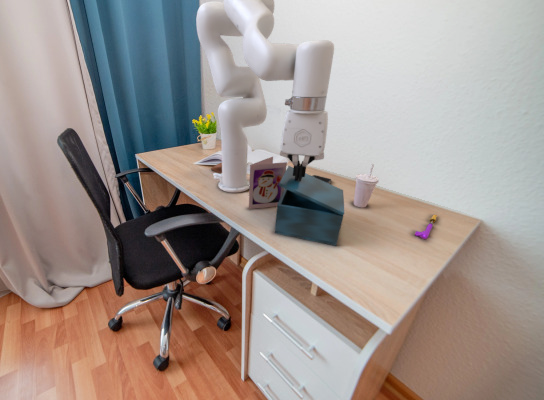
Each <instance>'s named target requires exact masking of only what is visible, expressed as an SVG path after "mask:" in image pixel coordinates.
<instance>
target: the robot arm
mask: <svg viewBox="0 0 544 400" xmlns="http://www.w3.org/2000/svg"><path fill="white" fill-rule="evenodd" d="M274 11H275V0H223V1H215V0H213V1H211V0H210V1H207V2H203V3H202V4H201V5H200V6H199V7H198V9H197V12H196V17H195V18H196V19H195V21H196V23H195V24H196V34H197V38H198V41H199V43H200V46H201V49H202V50H203V52H204V55H205V57H206V60H207V62H208V67H209V70H210V73H211V74H210V75H211V78H212V82H213V86H214V89H215V92H216V94H217V95H218V96H219V97H220V98H225V99H226V100H224V101H222V102H221V103H220V104H219V106H218V108H217V119H218V124H219V129H220V141H221V142H220V144H221V145H220V147H221V162H222V173H218V172H213V175H212V177H213V180H215V181H219V182H218V184H217V185H218V188H219V190H221V191H224V192H226V193H241V192H245V191H249V185H250V180H248V151H249V150H248V146H249V145H248V144H249V143H248V142H249V141H248V137H247V135H246V133H245V132H244V130H243V129H245V128H251V127H256V126H260V125H262V124H264V122H265V121H266V118H267V113H268V109H267V103H266V99H265V95H264V91H263V87H262V83H261V81H266V82H273V81H274V82H277V81H287V82H288V81H293V82H292V91H291V97H290V98H287V99H285V100H284V106H288V107H289V109H290V110H287V111H286V112H285V116H284V122H283V127H282V133H281V140H280V151H279V156H281V157H284V158H287V159H288V160H289V161H290V163H292V165H293V176H295V180H296V181H297V180H299V181H301V179H302V177H305V173H306V171H307V166H309V164H311V163H312V162H314V161H321V160H324V158H325V147H326V141H327V135H328V134H327V133H328V124H329V122H328V121H329V113H328V111H327V110H326V105H327V104H326V103H327V96H328V90H329V85H330V79H331V73H332V65H333V60H334V53H335V44H334V43H333V41H332V40H327V39H315V40H307V41H303V42H301V43H299V44H296V43H295V44H294V43H285V42H283V43H282V42H281V43H280V42H271V41H269V40H268V39H269V37H270V36H271V35H272V32H273V30H274V27H275V17H274V13H275V12H274ZM221 36H224V37H242V41H241V42H242V44H241V45H242V47H241V48H242V55H243V59H244V62H245V64H247V66H238V65H237V64H236V62H235V59H234V55H233V52H232V50H231V48H230V46H229V44H227V42H226V41H225V40H224V39H223V38H222V37H221ZM228 98H230V99H228ZM300 156H304V157H303V159H302V161H300Z"/></svg>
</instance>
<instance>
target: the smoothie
mask: <svg viewBox="0 0 544 400" xmlns="http://www.w3.org/2000/svg"><path fill="white" fill-rule="evenodd" d="M374 166H375V164H374V163H372V164H371V167H370V169H369V174H368V173H359V174H356V175H355V178H354V179H355V187H354V196H353V205H354V206H355V207H358V208H366V207H367V205H368V203H369V201H370V199H371V197H372V194H373V192H374V190H375V188H376V186H377V184H379V181H380V178H378V177H377V176H375V175H372V173H373V170H374Z"/></svg>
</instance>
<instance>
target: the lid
mask: <svg viewBox="0 0 544 400" xmlns="http://www.w3.org/2000/svg"><path fill="white" fill-rule="evenodd" d="M293 168H294V166H291V165H287V167H286V172H285V174H284V176H283V178H282V180H281V182H280V184H279V186H280V187H283V188H284V189H287V190H289V191H291V192H293V193H295V194H298V195H300V196H302V197H304V198H306V199H308V200H310V201H313V202H315V203H317V204H319V205H321V206H323V207H325V208H327V209H330V210H332V211H334V212H336V213H338V214H340V215H342V216H343V217H344V215H345V214H346V213H345V196H344V189H342V188H340V187H337V186H335V185H333V184H331V183H330V184H329V183H326V182H324V181H322V180H320V179H317V178H315V177H313V176H312V175H311V174H308V173H306V172H305V177H302V179H301V181H299V180H297V181H296V180H295V176H293Z"/></svg>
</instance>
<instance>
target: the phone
mask: <svg viewBox="0 0 544 400" xmlns="http://www.w3.org/2000/svg"><path fill="white" fill-rule="evenodd" d="M311 176H313V177H315V178H317V179H320V180H322V181H324V182H326V183H329V184H331V183H332V179H331V178H328V177H325V176H320V175H316V174H313V175H311Z"/></svg>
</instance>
